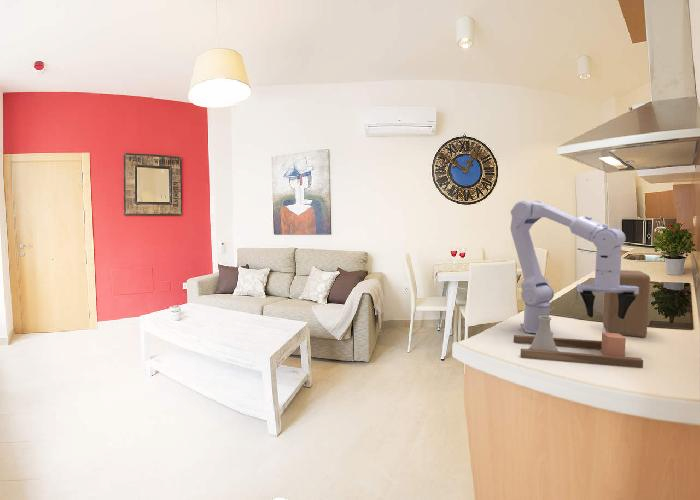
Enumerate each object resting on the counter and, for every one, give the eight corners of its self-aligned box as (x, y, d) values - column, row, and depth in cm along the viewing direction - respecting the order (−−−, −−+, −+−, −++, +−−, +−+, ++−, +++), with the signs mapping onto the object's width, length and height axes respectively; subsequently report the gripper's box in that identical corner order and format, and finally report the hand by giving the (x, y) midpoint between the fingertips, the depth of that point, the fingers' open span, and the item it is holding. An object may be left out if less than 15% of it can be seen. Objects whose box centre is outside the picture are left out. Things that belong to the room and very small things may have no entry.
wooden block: (607, 334, 112) (610, 273, 110) (602, 325, 121) (605, 269, 119) (647, 338, 107) (651, 275, 105) (638, 329, 116) (642, 270, 114)
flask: (532, 344, 105) (533, 312, 104) (560, 350, 100) (561, 316, 99) (527, 352, 99) (527, 318, 98) (555, 358, 94) (557, 322, 94)
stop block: (601, 352, 97) (602, 332, 97) (617, 354, 96) (618, 333, 96) (607, 358, 94) (608, 337, 93) (624, 359, 92) (625, 338, 92)
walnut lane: (513, 341, 108) (513, 334, 108) (619, 348, 100) (619, 342, 100) (521, 357, 95) (521, 350, 95) (642, 367, 87) (643, 360, 87)
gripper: (583, 272, 96) (581, 319, 98) (645, 273, 92) (642, 322, 94) (575, 268, 103) (573, 312, 104) (632, 269, 99) (630, 315, 100)
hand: (605, 317), depth 99 cm, fingers open, 7 cm apart
